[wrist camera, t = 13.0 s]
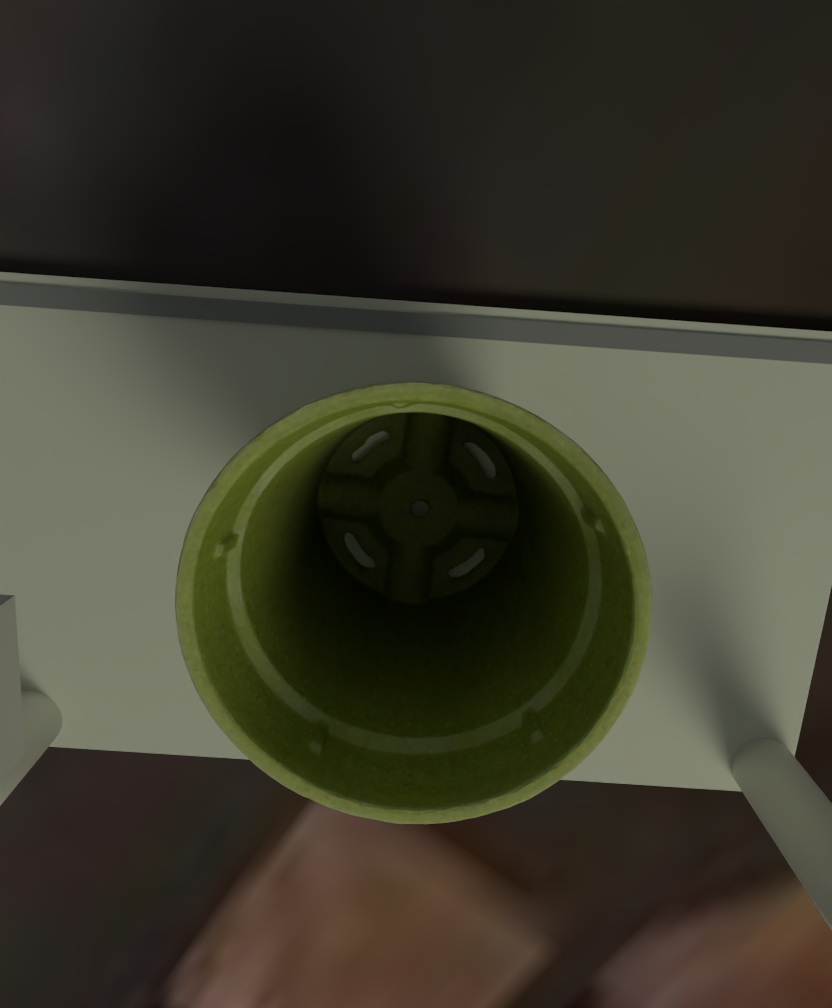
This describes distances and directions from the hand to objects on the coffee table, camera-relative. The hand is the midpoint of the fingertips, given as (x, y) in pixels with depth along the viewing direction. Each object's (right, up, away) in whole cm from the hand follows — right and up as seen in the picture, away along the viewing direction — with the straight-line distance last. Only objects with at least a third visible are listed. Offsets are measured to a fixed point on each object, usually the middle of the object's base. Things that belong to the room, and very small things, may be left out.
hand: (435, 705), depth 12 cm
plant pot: (0, +3, +12) cm, 12 cm away
